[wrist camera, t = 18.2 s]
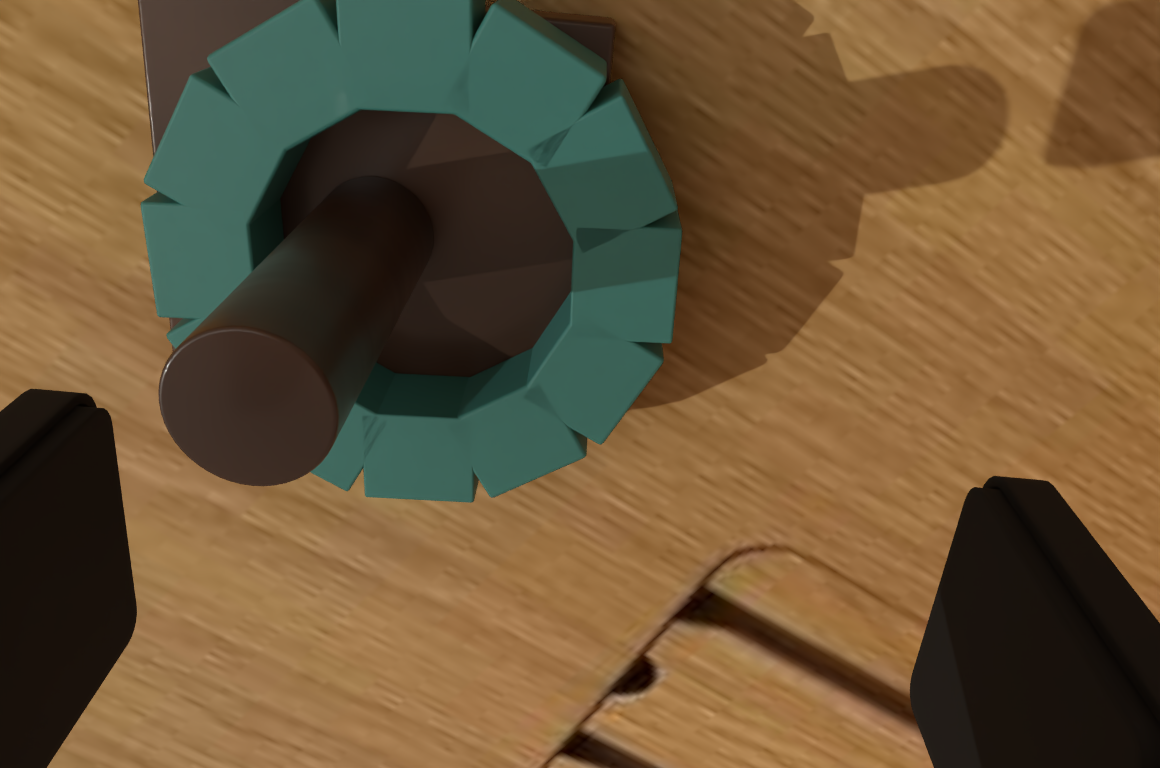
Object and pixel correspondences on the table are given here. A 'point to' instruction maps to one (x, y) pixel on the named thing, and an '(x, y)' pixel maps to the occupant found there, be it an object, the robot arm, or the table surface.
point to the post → (356, 263)
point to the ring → (501, 111)
